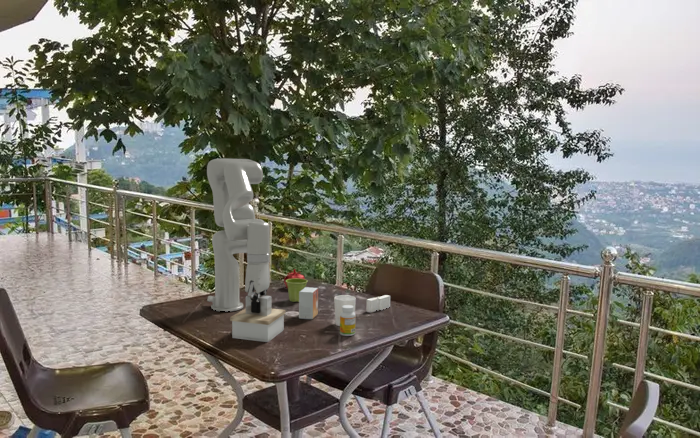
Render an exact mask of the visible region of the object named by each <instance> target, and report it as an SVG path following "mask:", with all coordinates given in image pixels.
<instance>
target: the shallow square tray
mask: <svg viewBox="0 0 700 438" xmlns="http://www.w3.org/2000/svg"><path fill="white" fill-rule="evenodd" d="M284 315H285V314H284ZM284 315H282V316H281V317H279V318H278V319H277V320H275V321H274V322H272V323H271V324H269V325H264V324H255V323H246V322H237V321H231V322H232V323H231V327H232V328H231V329H232V331H231V335H232V339H237V340H238V339H241V340H246V341H247V340H248V341H256V342H263V343H264V342H265V343H268V342H270V341H271V340H273V339H274V338H275V337H276V336H278V335H279V334H281V333H282V332H283V331H284V330H285V329H284V326H285V323H284V322H285V321H284V319H285V316H284Z"/></svg>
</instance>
